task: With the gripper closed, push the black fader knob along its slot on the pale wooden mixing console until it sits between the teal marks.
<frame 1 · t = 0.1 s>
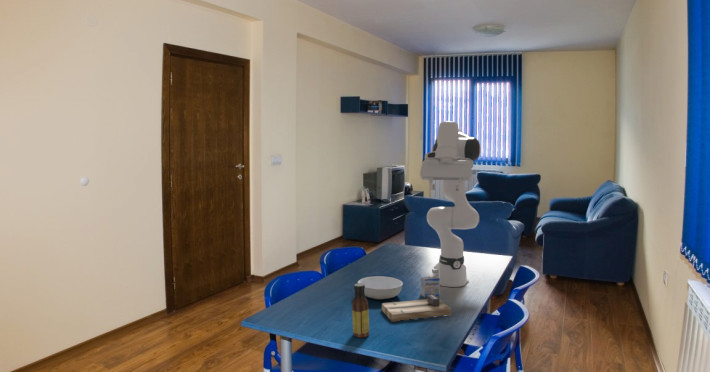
hand: (445, 189, 203), 54 cm above the table, tool tilted 30°, fingers open, 8 cm apart
fader: (433, 300, 222), point 5 cm above the table, slide at 0.0 cm
sauce bottle: (360, 335, 197), on the table
console: (415, 312, 221), on the table
serving bowl: (380, 296, 243), on the table
medicine box: (430, 295, 244), on the table
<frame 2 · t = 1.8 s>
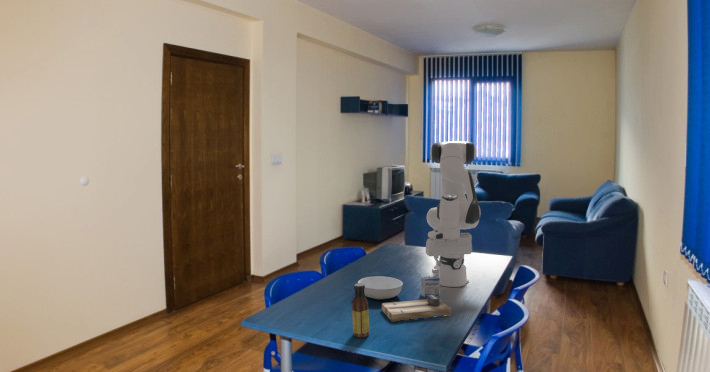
hand: (448, 265, 221), 20 cm above the table, tool pointing down, fingers open, 8 cm apart
nothing on the table moved.
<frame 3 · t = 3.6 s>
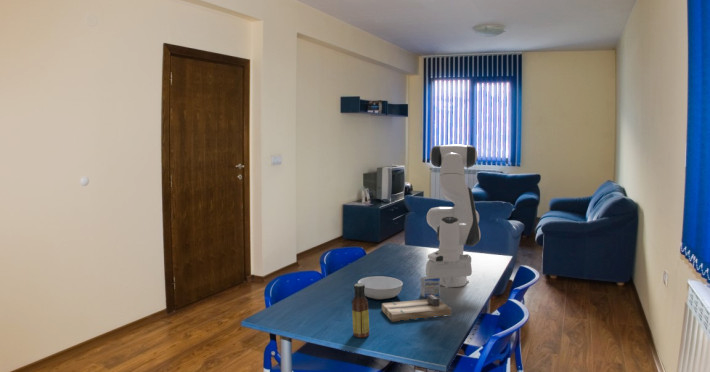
hand: (448, 287, 223), 10 cm above the table, tool pointing down, fingers closed
nothing on the table moved.
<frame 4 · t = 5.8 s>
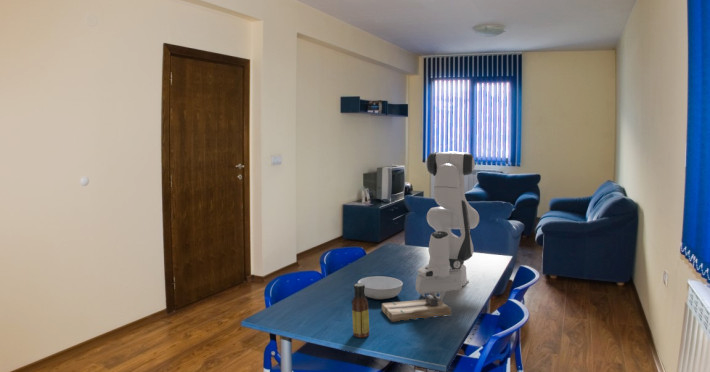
hand: (438, 301, 223), 4 cm above the table, tool pointing down, fingers closed
fader: (431, 300, 222), point 5 cm above the table, slide at 0.8 cm, touching gripper
everything else where it was.
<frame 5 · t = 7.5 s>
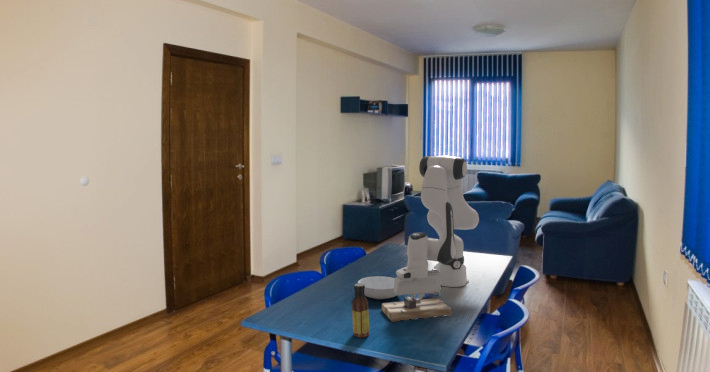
hand: (417, 303, 220), 4 cm above the table, tool pointing down, fingers closed
fader: (410, 302, 219), point 5 cm above the table, slide at 10.6 cm, touching gripper
everything else where it was.
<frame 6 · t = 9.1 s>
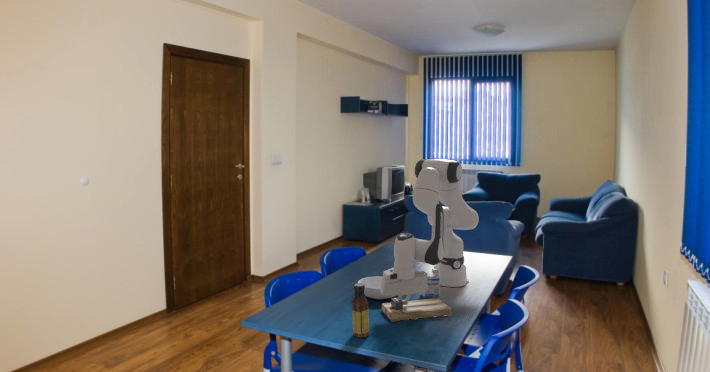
hand: (404, 304, 219), 4 cm above the table, tool pointing down, fingers closed
fader: (396, 303, 218), point 5 cm above the table, slide at 16.5 cm, touching gripper
everything else where it was.
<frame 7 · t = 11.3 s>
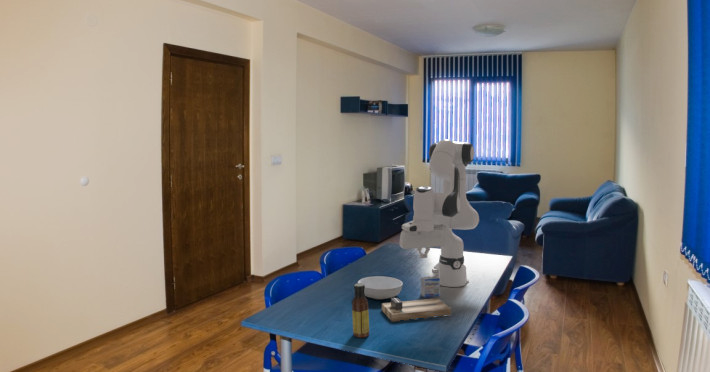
hand: (423, 257, 219), 24 cm above the table, tool pointing down, fingers closed
fader: (396, 303, 218), point 5 cm above the table, slide at 16.7 cm
everything else where it was.
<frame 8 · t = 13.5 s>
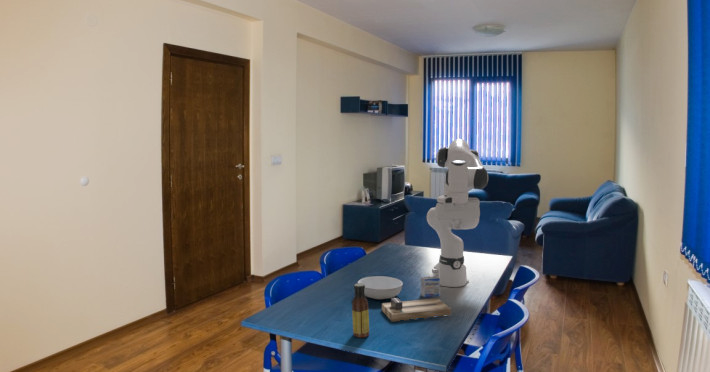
hand: (457, 229, 227), 34 cm above the table, tool pointing down, fingers closed
nothing on the table moved.
at the end: fader slide at 16.7 cm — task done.
